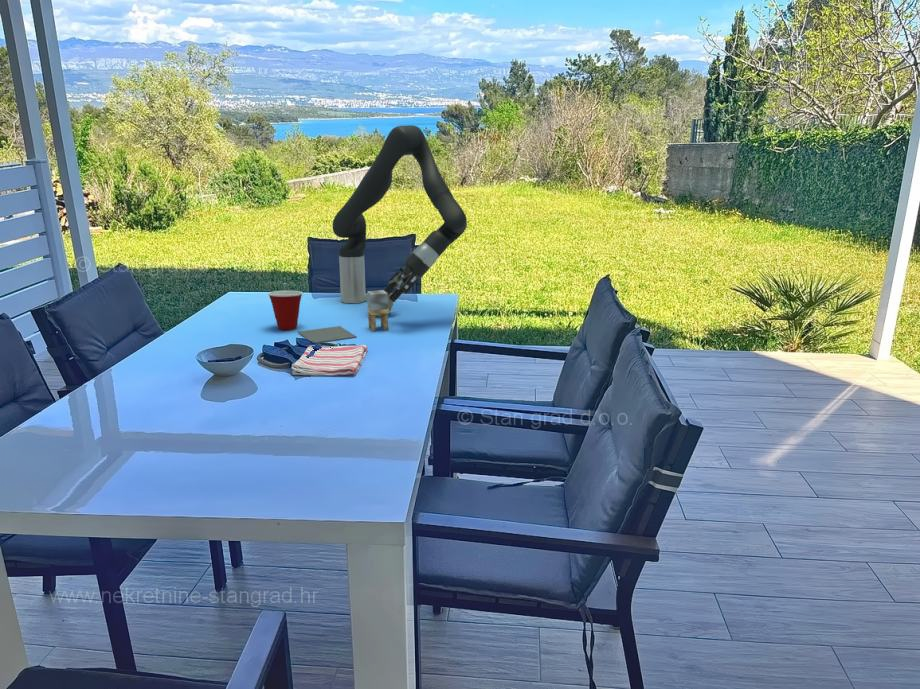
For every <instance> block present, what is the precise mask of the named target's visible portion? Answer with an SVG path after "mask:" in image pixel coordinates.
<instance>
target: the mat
mask: <svg viewBox="0 0 920 689" xmlns="http://www.w3.org/2000/svg"><path fill="white" fill-rule="evenodd" d="M297 333H298V334H299V335H300V336H301V337H302V338H303V339H305V340H306V341H308V340H309V341H313V342H315V343H316V344H321V343H322V344H323V343H329V342H335V341H342V340H350V339H351V340H352V339H355V338H357V335H356V334H353V333H352V332H350V331H349V330H347V329H345V328H344V327H342V326H341V325H338V326H337V325H336V326H330V327H323V328H314V329H307V330H300V331H297ZM309 341H308V342H309Z"/></svg>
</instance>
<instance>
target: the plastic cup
mask: <svg viewBox="0 0 920 689" xmlns="http://www.w3.org/2000/svg"><path fill="white" fill-rule="evenodd" d="M303 294H304V292H303V291H299V290H276V291H275V290H273V291H269V292H268V293H267V295H268V296H269V298H270V302H271V306H272V310H273V314H274V318H275V321H276V324H277V328H278V330H280V331H293V330H296V329H297V327H298V320H299V315H300V305H301V300H302V296H303Z"/></svg>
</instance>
